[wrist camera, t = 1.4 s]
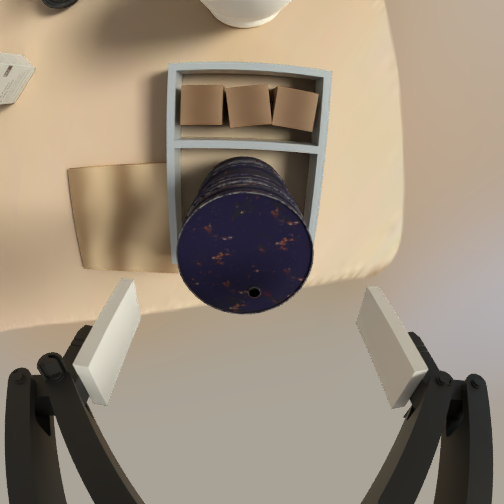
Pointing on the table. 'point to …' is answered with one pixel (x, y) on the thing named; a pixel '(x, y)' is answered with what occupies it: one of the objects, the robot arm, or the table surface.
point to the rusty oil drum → (244, 240)
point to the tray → (178, 142)
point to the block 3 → (293, 108)
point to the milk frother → (58, 3)
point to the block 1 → (202, 105)
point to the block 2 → (248, 105)
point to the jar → (245, 11)
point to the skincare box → (13, 76)
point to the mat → (122, 217)
